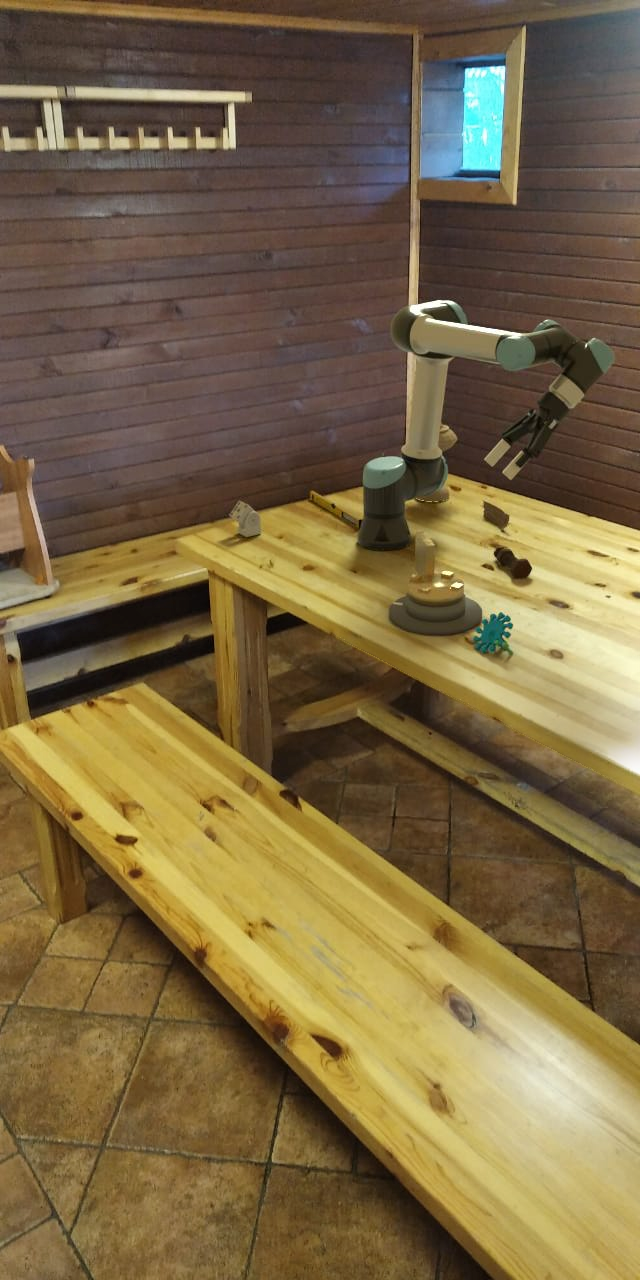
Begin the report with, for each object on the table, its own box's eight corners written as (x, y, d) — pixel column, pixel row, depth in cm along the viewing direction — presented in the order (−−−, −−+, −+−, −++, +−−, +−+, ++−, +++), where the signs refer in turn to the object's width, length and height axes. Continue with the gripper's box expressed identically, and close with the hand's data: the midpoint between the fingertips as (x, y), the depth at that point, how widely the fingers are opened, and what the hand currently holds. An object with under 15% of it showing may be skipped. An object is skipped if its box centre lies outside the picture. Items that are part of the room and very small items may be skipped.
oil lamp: (400, 494, 319) (401, 369, 301) (440, 487, 324) (443, 364, 306) (422, 507, 306) (425, 377, 289) (464, 500, 311) (469, 372, 294)
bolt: (500, 565, 266) (524, 583, 253) (485, 558, 264) (509, 576, 251) (511, 546, 264) (535, 563, 251) (496, 539, 263) (520, 556, 249)
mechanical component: (262, 534, 288) (260, 501, 283) (239, 540, 284) (236, 507, 280) (252, 529, 292) (250, 497, 287) (230, 535, 288) (227, 502, 284)
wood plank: (479, 516, 297) (479, 500, 295) (485, 515, 298) (486, 499, 295) (502, 532, 284) (503, 515, 282) (509, 531, 284) (510, 515, 282)
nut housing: (370, 613, 235) (370, 594, 233) (438, 590, 246) (438, 571, 244) (431, 644, 219) (432, 624, 217) (501, 618, 230) (502, 599, 228)
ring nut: (470, 603, 226) (472, 560, 221) (416, 609, 224) (416, 565, 219) (444, 569, 245) (445, 529, 240) (393, 574, 243) (393, 533, 238)
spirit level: (309, 499, 317) (309, 491, 316) (313, 499, 318) (313, 490, 316) (358, 529, 290) (358, 520, 289) (362, 528, 291) (362, 519, 289)
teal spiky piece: (465, 633, 220) (497, 602, 217) (480, 646, 223) (513, 616, 221) (484, 660, 211) (518, 629, 208) (499, 674, 214) (533, 643, 212)
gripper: (591, 419, 218) (525, 492, 223) (550, 401, 241) (491, 467, 245) (569, 397, 216) (503, 471, 220) (530, 381, 238) (470, 448, 243)
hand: (496, 469), depth 233 cm, fingers open, 13 cm apart
